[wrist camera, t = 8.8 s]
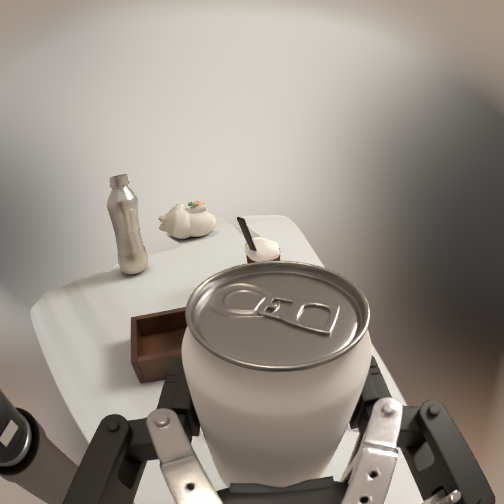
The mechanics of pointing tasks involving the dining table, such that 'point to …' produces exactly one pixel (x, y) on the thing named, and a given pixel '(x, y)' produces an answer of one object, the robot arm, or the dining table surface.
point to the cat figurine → (188, 221)
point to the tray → (156, 342)
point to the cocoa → (259, 246)
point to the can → (275, 367)
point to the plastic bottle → (126, 226)
